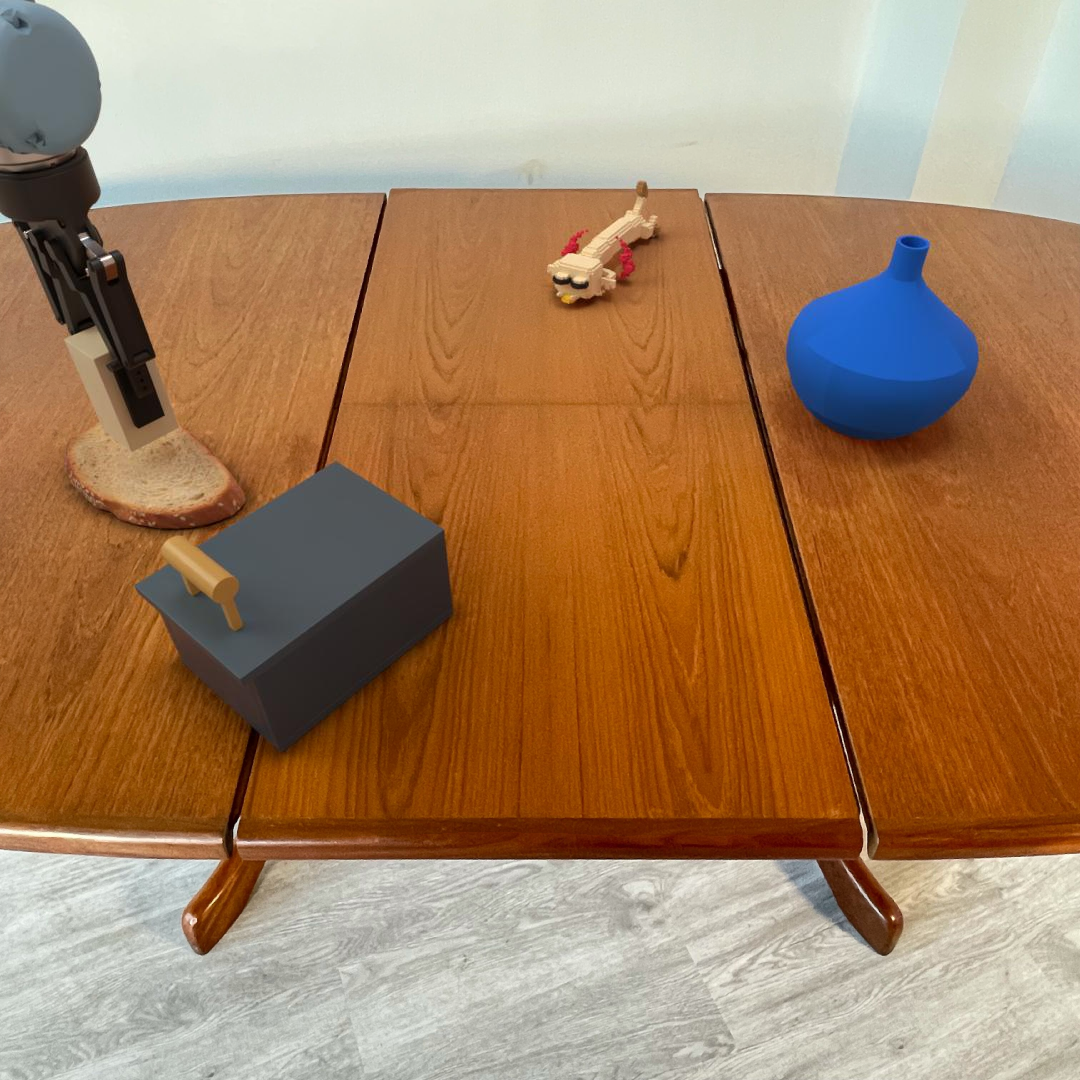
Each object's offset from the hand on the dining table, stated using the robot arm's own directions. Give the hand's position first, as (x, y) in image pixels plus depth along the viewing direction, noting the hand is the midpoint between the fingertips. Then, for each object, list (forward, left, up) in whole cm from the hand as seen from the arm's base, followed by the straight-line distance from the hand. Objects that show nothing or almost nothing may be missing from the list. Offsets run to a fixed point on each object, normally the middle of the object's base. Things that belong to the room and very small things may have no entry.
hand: (132, 408), depth 82 cm
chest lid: (+11, -27, +1) cm, 29 cm away
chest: (+11, -27, -8) cm, 30 cm away
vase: (+71, -17, -8) cm, 73 cm away
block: (0, 0, -2) cm, 2 cm away
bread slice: (0, 0, -8) cm, 8 cm away
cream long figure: (+59, +23, -8) cm, 64 cm away
